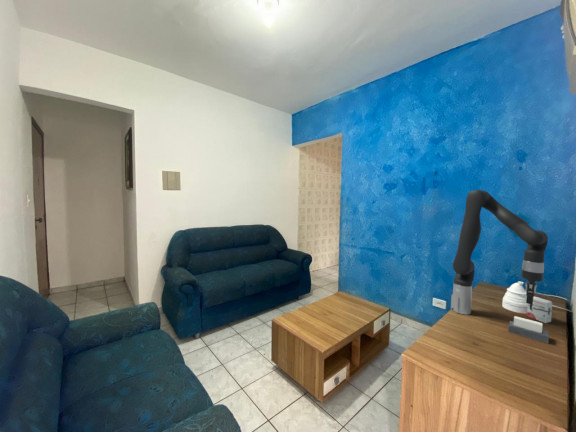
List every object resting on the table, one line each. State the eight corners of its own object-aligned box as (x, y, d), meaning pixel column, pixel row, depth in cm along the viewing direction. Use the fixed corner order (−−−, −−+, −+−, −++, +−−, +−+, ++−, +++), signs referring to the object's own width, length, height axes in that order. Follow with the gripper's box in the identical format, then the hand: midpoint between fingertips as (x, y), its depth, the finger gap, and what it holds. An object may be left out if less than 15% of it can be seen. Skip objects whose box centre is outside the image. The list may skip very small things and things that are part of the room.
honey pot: (536, 313, 141) (538, 284, 140) (515, 313, 141) (517, 284, 140) (516, 304, 154) (518, 277, 153) (496, 304, 154) (498, 277, 153)
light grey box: (513, 330, 121) (514, 318, 121) (513, 328, 124) (514, 315, 123) (541, 339, 114) (542, 325, 114) (541, 336, 116) (542, 323, 116)
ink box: (526, 316, 138) (527, 296, 137) (531, 315, 139) (533, 295, 139) (546, 323, 130) (547, 302, 129) (551, 322, 131) (552, 301, 131)
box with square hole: (508, 331, 122) (508, 325, 121) (509, 326, 126) (509, 320, 126) (548, 343, 111) (548, 336, 111) (548, 338, 116) (548, 331, 116)
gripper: (543, 274, 109) (540, 308, 110) (543, 268, 118) (540, 299, 120) (521, 271, 114) (518, 302, 116) (522, 265, 124) (520, 295, 125)
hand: (529, 301), depth 118 cm, fingers open, 8 cm apart
